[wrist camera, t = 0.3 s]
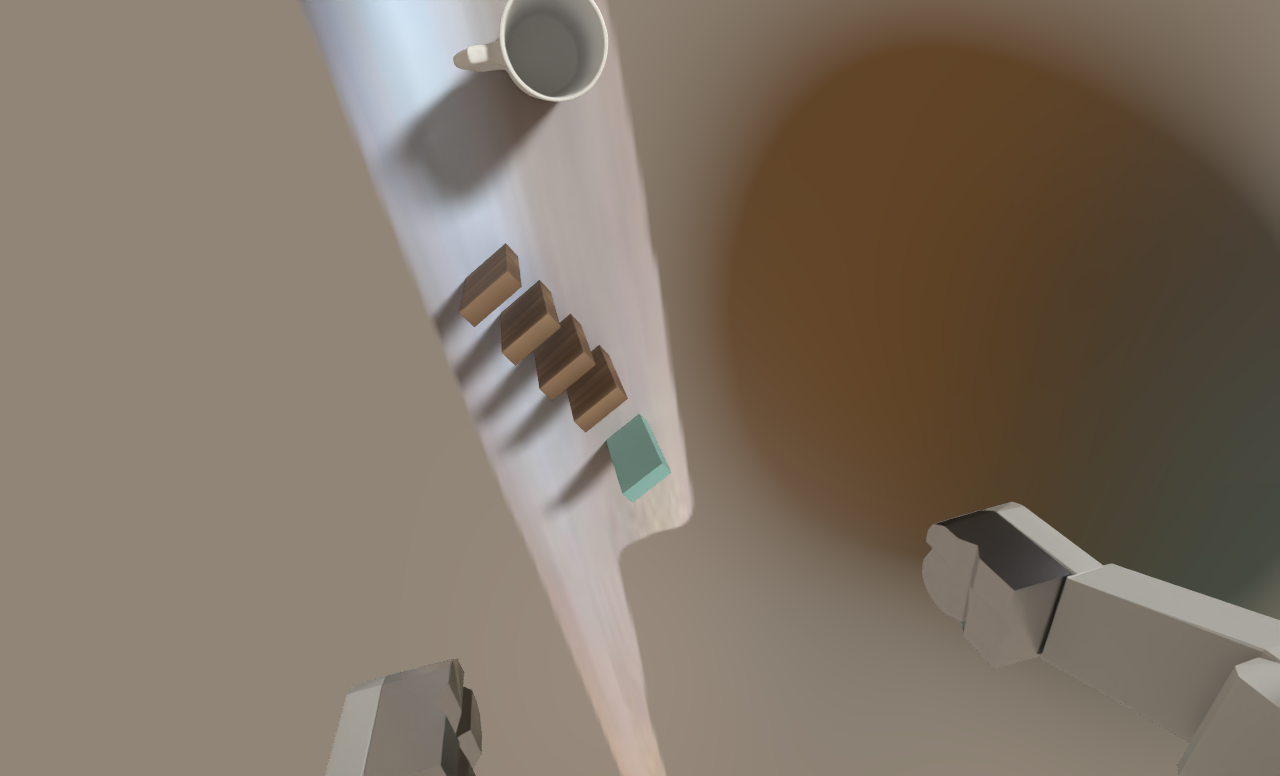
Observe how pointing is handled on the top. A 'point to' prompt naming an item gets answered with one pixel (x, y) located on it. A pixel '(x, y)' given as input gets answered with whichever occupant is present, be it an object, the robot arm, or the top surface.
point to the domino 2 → (528, 323)
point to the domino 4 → (596, 392)
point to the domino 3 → (563, 358)
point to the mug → (545, 48)
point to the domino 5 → (637, 458)
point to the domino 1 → (490, 285)
